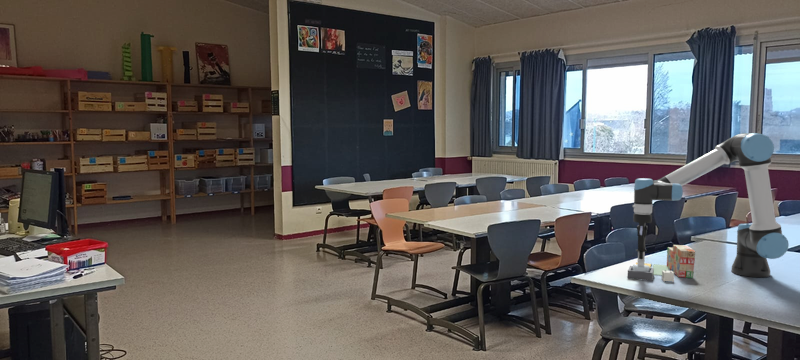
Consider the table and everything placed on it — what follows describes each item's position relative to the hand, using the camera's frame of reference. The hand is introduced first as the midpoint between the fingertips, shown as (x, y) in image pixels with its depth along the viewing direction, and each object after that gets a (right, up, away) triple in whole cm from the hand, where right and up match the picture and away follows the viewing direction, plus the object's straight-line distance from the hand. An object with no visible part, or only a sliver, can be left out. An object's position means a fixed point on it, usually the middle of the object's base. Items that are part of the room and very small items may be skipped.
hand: (640, 265), depth 253 cm
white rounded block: (0, -4, 0) cm, 4 cm away
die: (+9, -6, -6) cm, 12 cm away
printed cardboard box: (+22, -4, +9) cm, 24 cm away
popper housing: (0, -5, 0) cm, 5 cm away
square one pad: (+15, -4, +13) cm, 20 cm away
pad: (+8, -4, +17) cm, 19 cm away
